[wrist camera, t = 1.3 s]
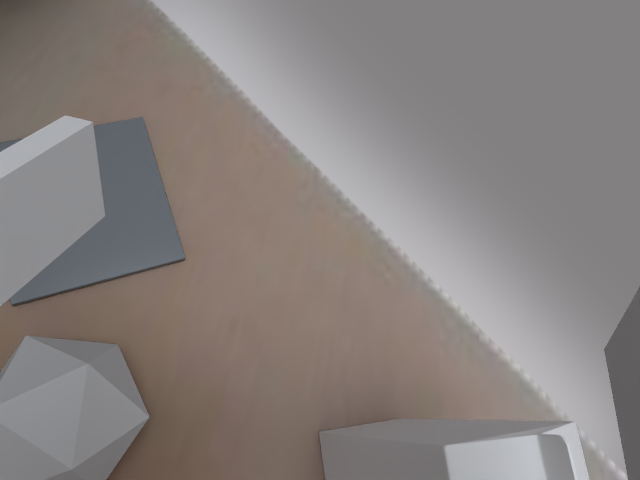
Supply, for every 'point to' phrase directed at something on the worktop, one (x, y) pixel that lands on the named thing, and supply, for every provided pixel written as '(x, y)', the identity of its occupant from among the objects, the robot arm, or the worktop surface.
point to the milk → (454, 450)
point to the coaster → (115, 219)
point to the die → (66, 410)
